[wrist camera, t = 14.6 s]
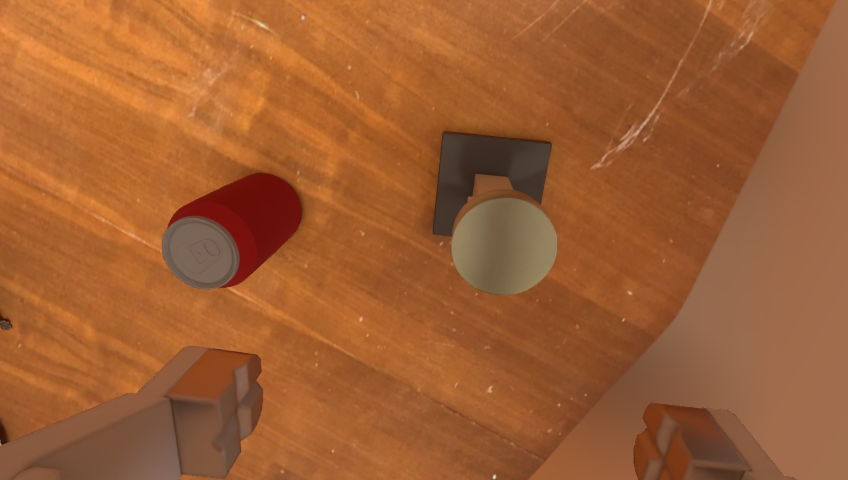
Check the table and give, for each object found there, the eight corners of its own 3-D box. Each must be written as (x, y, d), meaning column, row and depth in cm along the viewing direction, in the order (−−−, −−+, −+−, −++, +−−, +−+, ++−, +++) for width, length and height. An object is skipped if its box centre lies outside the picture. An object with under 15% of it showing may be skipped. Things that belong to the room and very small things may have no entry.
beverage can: (220, 190, 42) (131, 232, 31) (279, 158, 41) (209, 190, 29) (260, 251, 44) (190, 312, 33) (318, 223, 42) (265, 277, 31)
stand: (549, 141, 38) (590, 174, 26) (531, 240, 41) (559, 312, 29) (443, 131, 39) (433, 158, 26) (433, 230, 42) (420, 295, 29)
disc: (559, 193, 26) (567, 203, 24) (541, 286, 28) (547, 301, 27) (457, 183, 27) (456, 192, 25) (447, 275, 29) (445, 289, 27)
